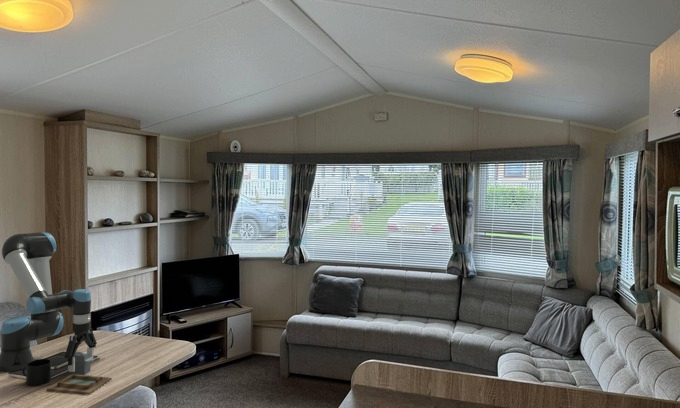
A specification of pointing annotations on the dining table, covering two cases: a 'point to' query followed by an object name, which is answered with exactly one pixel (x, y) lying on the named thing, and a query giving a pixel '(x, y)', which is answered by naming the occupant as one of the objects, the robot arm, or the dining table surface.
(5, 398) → the dining table surface
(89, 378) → the tray
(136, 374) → the dining table surface
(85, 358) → the servo
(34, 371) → the mug
